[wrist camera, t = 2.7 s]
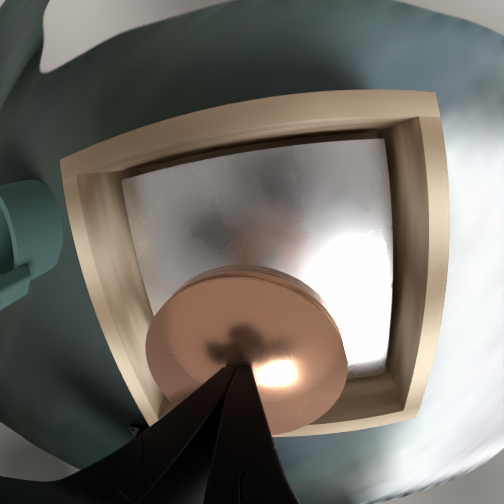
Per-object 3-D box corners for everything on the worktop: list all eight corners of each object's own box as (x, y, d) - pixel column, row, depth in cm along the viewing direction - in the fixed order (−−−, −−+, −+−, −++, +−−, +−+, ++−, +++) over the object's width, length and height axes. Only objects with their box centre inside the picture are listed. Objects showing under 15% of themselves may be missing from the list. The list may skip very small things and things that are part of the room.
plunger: (380, 363, 15) (411, 458, 8) (183, 375, 17) (139, 459, 10) (377, 140, 12) (460, 118, 5) (131, 178, 14) (25, 196, 7)
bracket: (6, 187, 19) (-65, 206, 10) (60, 170, 17) (-34, 187, 9) (21, 275, 21) (-42, 311, 13) (77, 281, 20) (0, 332, 11)
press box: (390, 355, 18) (416, 417, 12) (180, 368, 20) (149, 426, 14) (385, 117, 14) (435, 92, 8) (128, 158, 16) (59, 160, 10)
